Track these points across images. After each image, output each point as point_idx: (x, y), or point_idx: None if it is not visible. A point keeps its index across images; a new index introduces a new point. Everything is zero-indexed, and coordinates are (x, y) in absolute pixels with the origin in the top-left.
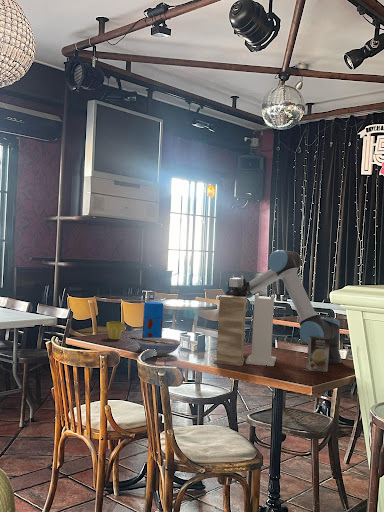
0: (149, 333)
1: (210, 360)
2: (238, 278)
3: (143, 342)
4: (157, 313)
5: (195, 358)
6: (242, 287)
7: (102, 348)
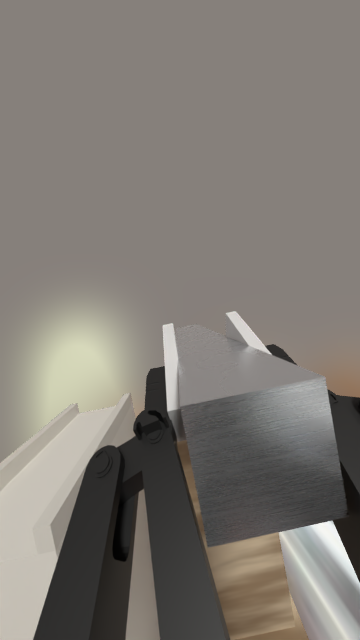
0: None
1: (294, 565)
2: (183, 334)
3: None
4: None
5: (352, 571)
6: (209, 566)
7: None
